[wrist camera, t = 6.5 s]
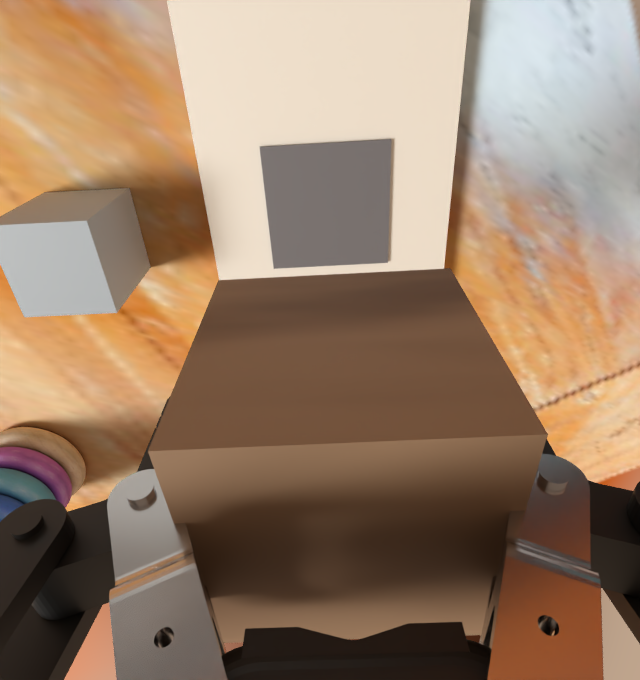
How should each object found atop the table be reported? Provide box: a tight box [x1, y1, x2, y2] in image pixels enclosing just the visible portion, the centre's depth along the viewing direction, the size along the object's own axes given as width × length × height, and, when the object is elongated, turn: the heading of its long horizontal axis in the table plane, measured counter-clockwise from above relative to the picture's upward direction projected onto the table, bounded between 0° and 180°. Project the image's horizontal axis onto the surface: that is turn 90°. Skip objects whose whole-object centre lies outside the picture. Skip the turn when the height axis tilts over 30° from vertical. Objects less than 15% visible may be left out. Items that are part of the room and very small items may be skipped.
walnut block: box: [148, 268, 548, 643], centre depth 11 cm, size 6×6×6 cm
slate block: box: [0, 188, 151, 317], centre depth 26 cm, size 5×5×6 cm
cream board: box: [167, 0, 470, 280], centre depth 27 cm, size 20×14×1 cm
